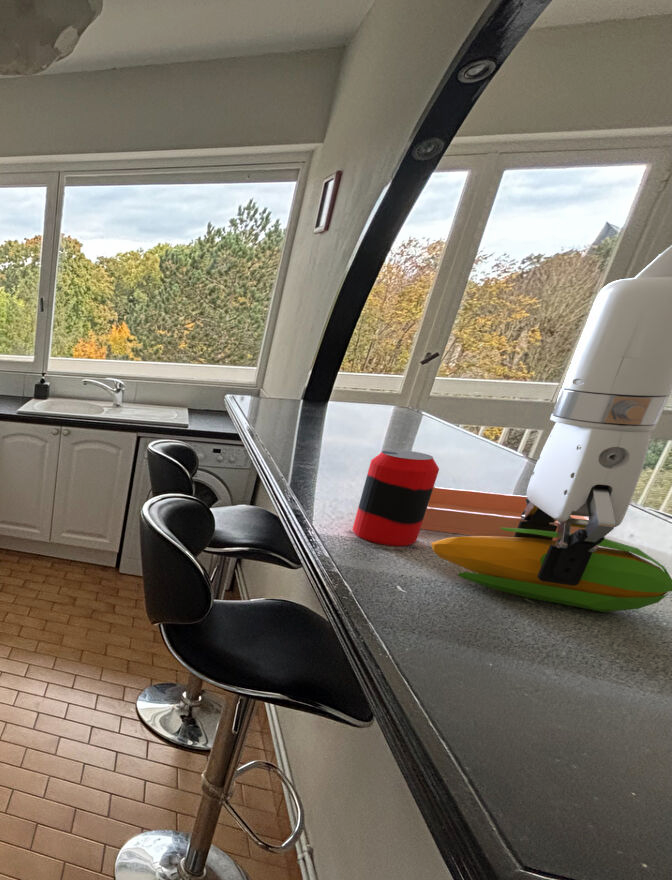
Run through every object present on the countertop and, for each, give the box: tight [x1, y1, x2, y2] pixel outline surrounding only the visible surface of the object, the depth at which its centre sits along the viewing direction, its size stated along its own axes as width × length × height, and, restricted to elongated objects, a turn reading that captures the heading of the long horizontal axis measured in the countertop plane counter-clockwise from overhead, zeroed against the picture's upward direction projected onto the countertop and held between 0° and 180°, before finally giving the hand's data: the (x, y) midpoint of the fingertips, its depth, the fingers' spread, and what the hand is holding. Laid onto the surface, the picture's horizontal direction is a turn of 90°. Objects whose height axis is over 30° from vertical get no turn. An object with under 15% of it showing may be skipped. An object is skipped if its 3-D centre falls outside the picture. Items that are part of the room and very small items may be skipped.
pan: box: [420, 486, 589, 541], centre depth 89 cm, size 24×14×3 cm, turn 65°
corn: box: [430, 527, 672, 613], centre depth 66 cm, size 7×8×20 cm
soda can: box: [352, 449, 440, 547], centre depth 82 cm, size 8×8×12 cm
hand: (541, 566), depth 66 cm, fingers closed on corn, 7 cm apart
